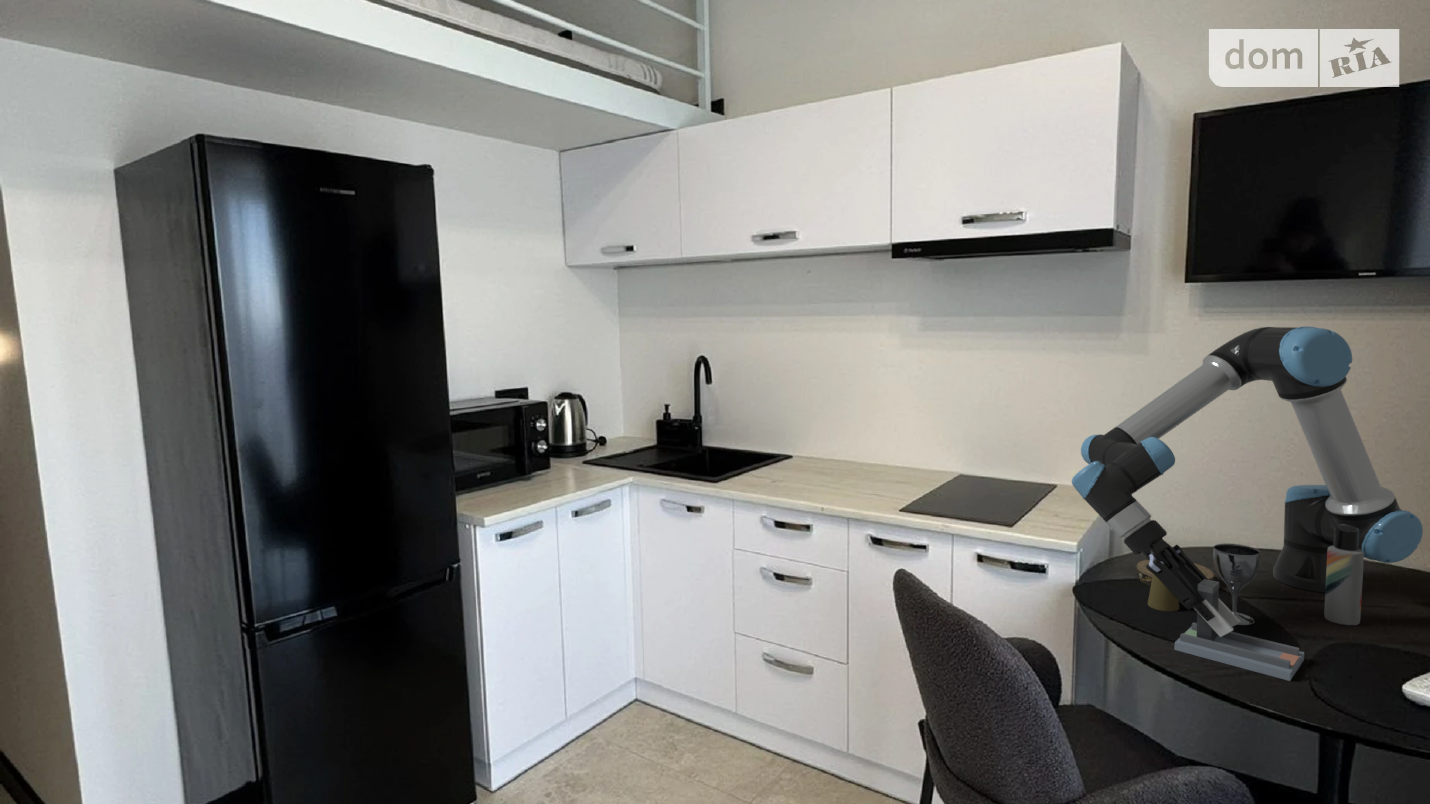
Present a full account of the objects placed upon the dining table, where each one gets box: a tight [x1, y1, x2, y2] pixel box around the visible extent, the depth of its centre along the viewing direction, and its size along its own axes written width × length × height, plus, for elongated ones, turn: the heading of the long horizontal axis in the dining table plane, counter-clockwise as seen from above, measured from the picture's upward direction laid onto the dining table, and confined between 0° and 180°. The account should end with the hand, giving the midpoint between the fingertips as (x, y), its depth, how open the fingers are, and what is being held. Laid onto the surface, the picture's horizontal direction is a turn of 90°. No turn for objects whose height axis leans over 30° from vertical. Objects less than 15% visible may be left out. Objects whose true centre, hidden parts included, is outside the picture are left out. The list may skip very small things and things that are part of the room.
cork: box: [1147, 574, 1180, 612], centre depth 163 cm, size 6×6×11 cm
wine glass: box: [1212, 543, 1261, 626], centre depth 155 cm, size 8×8×15 cm
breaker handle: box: [1196, 579, 1220, 641], centre depth 143 cm, size 2×4×11 cm, turn 132°
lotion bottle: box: [1323, 524, 1365, 626], centre depth 152 cm, size 6×6×20 cm
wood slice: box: [1136, 559, 1215, 586], centre depth 179 cm, size 16×16×3 cm
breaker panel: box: [1174, 622, 1305, 682], centre depth 140 cm, size 18×11×3 cm, turn 42°
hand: (1230, 629), depth 140 cm, fingers closed on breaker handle, 4 cm apart
